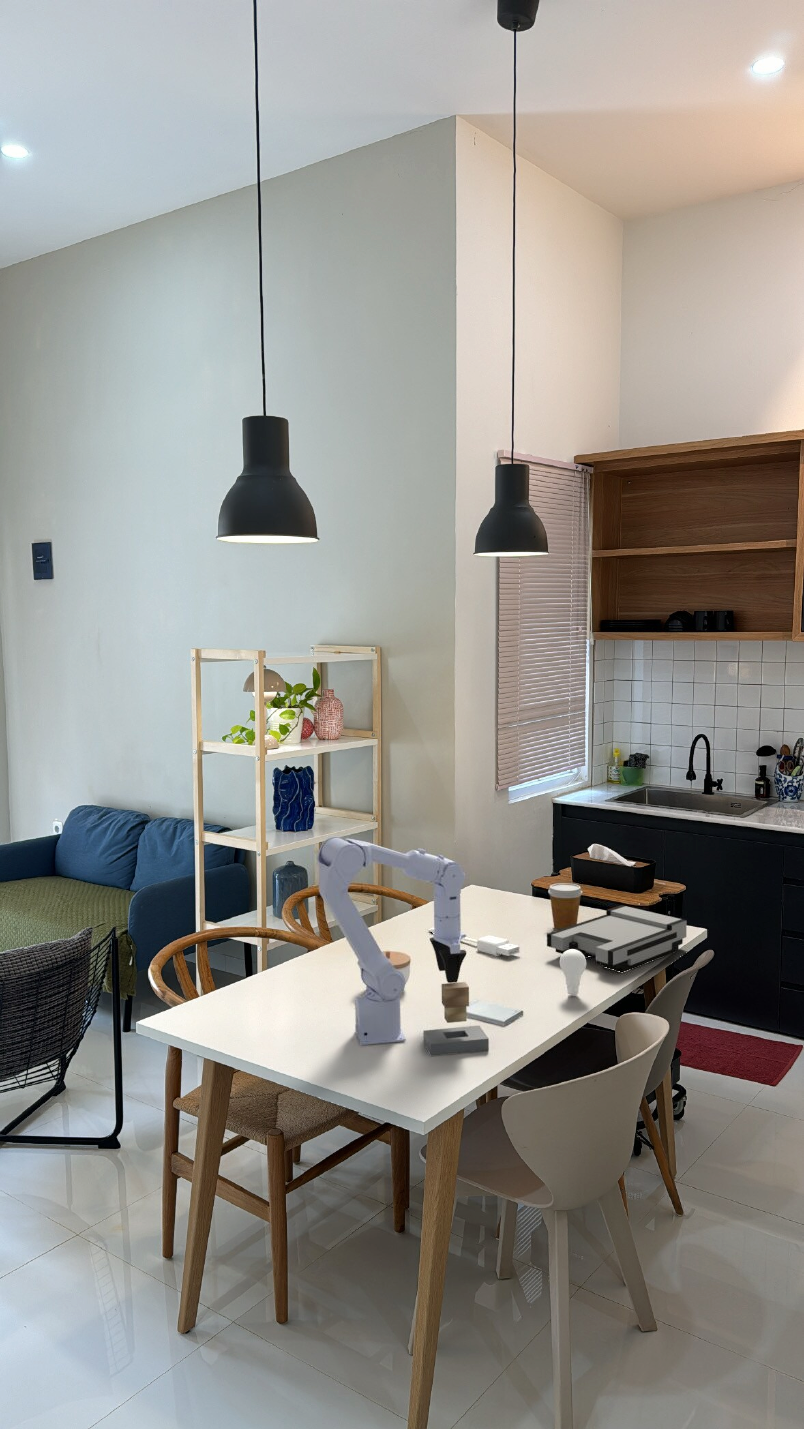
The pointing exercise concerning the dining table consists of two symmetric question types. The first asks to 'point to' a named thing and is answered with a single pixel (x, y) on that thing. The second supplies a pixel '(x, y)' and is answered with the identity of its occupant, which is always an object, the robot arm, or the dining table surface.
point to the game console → (622, 937)
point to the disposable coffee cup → (564, 904)
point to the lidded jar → (399, 962)
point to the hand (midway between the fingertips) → (447, 976)
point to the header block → (455, 1040)
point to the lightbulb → (572, 969)
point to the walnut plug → (455, 1001)
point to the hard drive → (492, 1012)
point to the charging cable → (493, 945)
